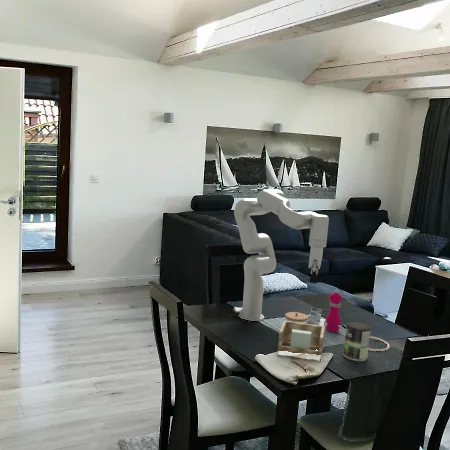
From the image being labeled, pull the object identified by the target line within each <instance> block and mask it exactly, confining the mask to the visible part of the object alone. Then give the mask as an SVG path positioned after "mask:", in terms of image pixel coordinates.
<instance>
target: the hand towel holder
mask: <svg viewBox="0 0 450 450" xmlns="http://www.w3.org/2000/svg"><path fill="white" fill-rule="evenodd" d="M370 339H371V340H376V341H378V340H379V341H378V342H381V341H382V342H381V343H383V342H384V343H383V344H385V345H386V344H387V347H386V348H380V349H378V348H370V347H369V348H368V350H369V351H368V352H376V351H381V352H386V351H389V349H390V348H391V346H390V344H389V343H388V341H386V340H384V339H382V338H379V337H376V336H371V335H370ZM385 350H386V351H385Z"/></svg>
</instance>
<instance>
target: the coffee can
mask: <svg viewBox="0 0 450 450" xmlns="http://www.w3.org/2000/svg"><path fill="white" fill-rule="evenodd" d="M345 325H346V327H345V328H346V329H345V336H344V337H345V338H344V345H343V352H342V355H343V356H344V357H345V358H346V359H347V360H351V361H356V362H364V361H366V360H368V357H369V351H368V348H369V349H370V336H371V330H372V325H371V324H369V323H368V322H364V321H362V320H361V321H359V320H349V321H347V322H346V324H345Z"/></svg>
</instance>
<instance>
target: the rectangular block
mask: <svg viewBox="0 0 450 450" xmlns="http://www.w3.org/2000/svg"><path fill="white" fill-rule="evenodd" d="M310 342H311V332H309V331H302V330H295V329H292V335H291V346H290V347H294V348H301V349H307V350H310Z"/></svg>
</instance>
